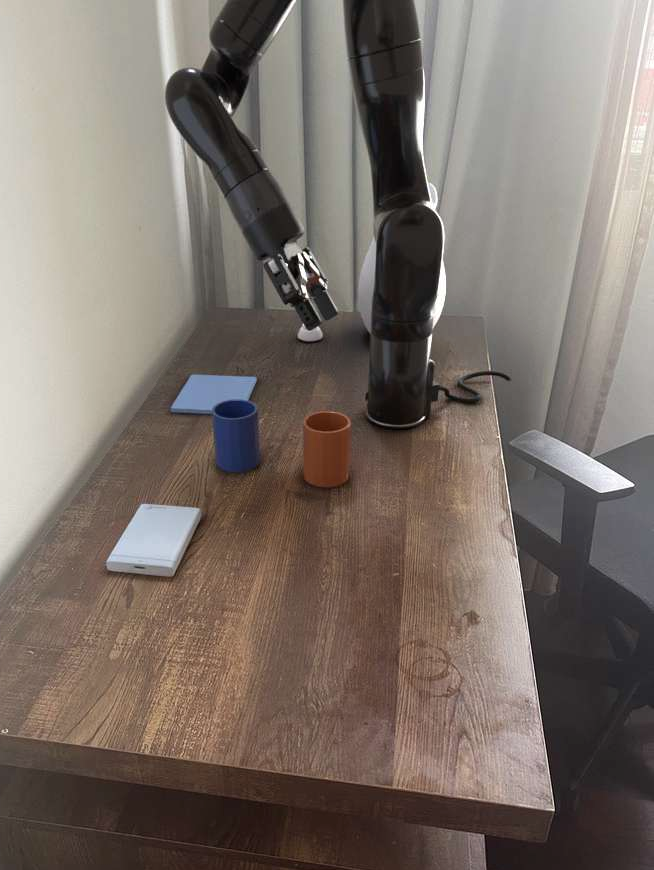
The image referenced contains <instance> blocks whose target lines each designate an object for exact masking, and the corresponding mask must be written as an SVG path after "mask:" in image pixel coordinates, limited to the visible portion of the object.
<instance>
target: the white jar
mask: <svg viewBox="0 0 654 870" xmlns="http://www.w3.org/2000/svg"><path fill="white" fill-rule="evenodd" d="M297 338H298V339H299V340H301V341H303V342H317V341H320V340H322V338H323V331H322V330H321V328H320V326H318V327H316V328H314V329H313V330H311V331H308V330H307V329H306V327H305V326H304V324H303V323H302V326H301V327H300V329H299V330H298V332H297Z"/></svg>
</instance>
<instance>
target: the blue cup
mask: <svg viewBox="0 0 654 870" xmlns="http://www.w3.org/2000/svg"><path fill="white" fill-rule="evenodd" d="M211 419H212V430H213V444H214V445H213V446H214V455H215V464H216V466H217V467H218V468H219V469H220V470H222V471H224V472H227V473H244V472H245V473H246V472H248V471H251V470H253V469H255V468H256V467H258V466H259V465H260V462H261V450H260V449H261V448H260V429H259V407H258V405H257V404H256V403H255V402H253V401H251V400H242V399H232V400H226V401H222V402H220V403H218V404H216V405H215V406H214V407H213V408H212V414H211Z"/></svg>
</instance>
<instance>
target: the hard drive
mask: <svg viewBox="0 0 654 870" xmlns="http://www.w3.org/2000/svg"><path fill="white" fill-rule="evenodd" d="M201 519H202V509H201V508H199V507H191V506H181V505H180V506H178V505H165V504H151V503H141V504H140V506H139V507H138V509H137V510H136V512H135V514H134V515H133V517H132V519H131V520H130V522H129V524H128V525H127V526H126V529H125V530H124V531H123V533H122V535H121V537H119V540H118V542H117V543H116V544H115V546H114V548H113V550H112V551H111V553H110V554H109V556H108V558H107V559H106V561H105V565H106V569H107V570H108V571H110V572H117V573H125V574H127V573H128V574H138V575H139V574H140V575H148V576H157V577H167V578H172V577H174V576H175V573H176V571H177V569H178V567H179V565H180V563H181V561H182V560H183V559H182V558H184V555H185V553H186V551H187V548H188V546H189V545H190V542H191V540H192V538H193V535H194V533H195V531H196V529H197V527H198V525H199V523H200V521H201Z"/></svg>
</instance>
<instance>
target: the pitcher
mask: <svg viewBox="0 0 654 870" xmlns="http://www.w3.org/2000/svg"><path fill="white" fill-rule="evenodd" d="M427 183H428V188H429V193H430V197H431V201H432V204H433V207H434V209H435V210H436V207H437V206H438V193H437V189H436V187H435V186H434V185H433V183H431V182H427ZM375 260H376V242H375V238H374V237H373V238H372V240H371V243H370V246H369V248H368V250H367V253H366V255H365V258H364V260H363V263H362V267H361V270H360V274H359V280H358V286H357V287H358V288H357V299H358V301H357V302H358V307H359V313H360V316H361V318H362V321H363V323H364V326H365V328H366V331H368V333H369V334H370V332H371V309H372V295H373V290H374V281H375ZM446 279H447V278H446V270H445V265H444V260H443V259H442V267H441V276H440V285H439V292H438V296H437V299H436V302H435V308H434V318H433V328H434V327H435V326H436V324H437V323H438V321H439V319H440V316H441V314H442V311H443V308H444V304H445V299H446V298H445V297H446V291H447V280H446Z"/></svg>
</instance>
